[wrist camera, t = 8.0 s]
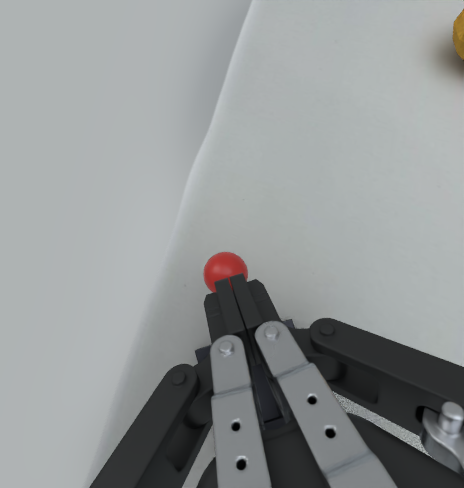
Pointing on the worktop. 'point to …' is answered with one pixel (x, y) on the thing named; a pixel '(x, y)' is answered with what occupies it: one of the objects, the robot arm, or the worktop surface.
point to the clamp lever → (230, 266)
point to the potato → (459, 34)
